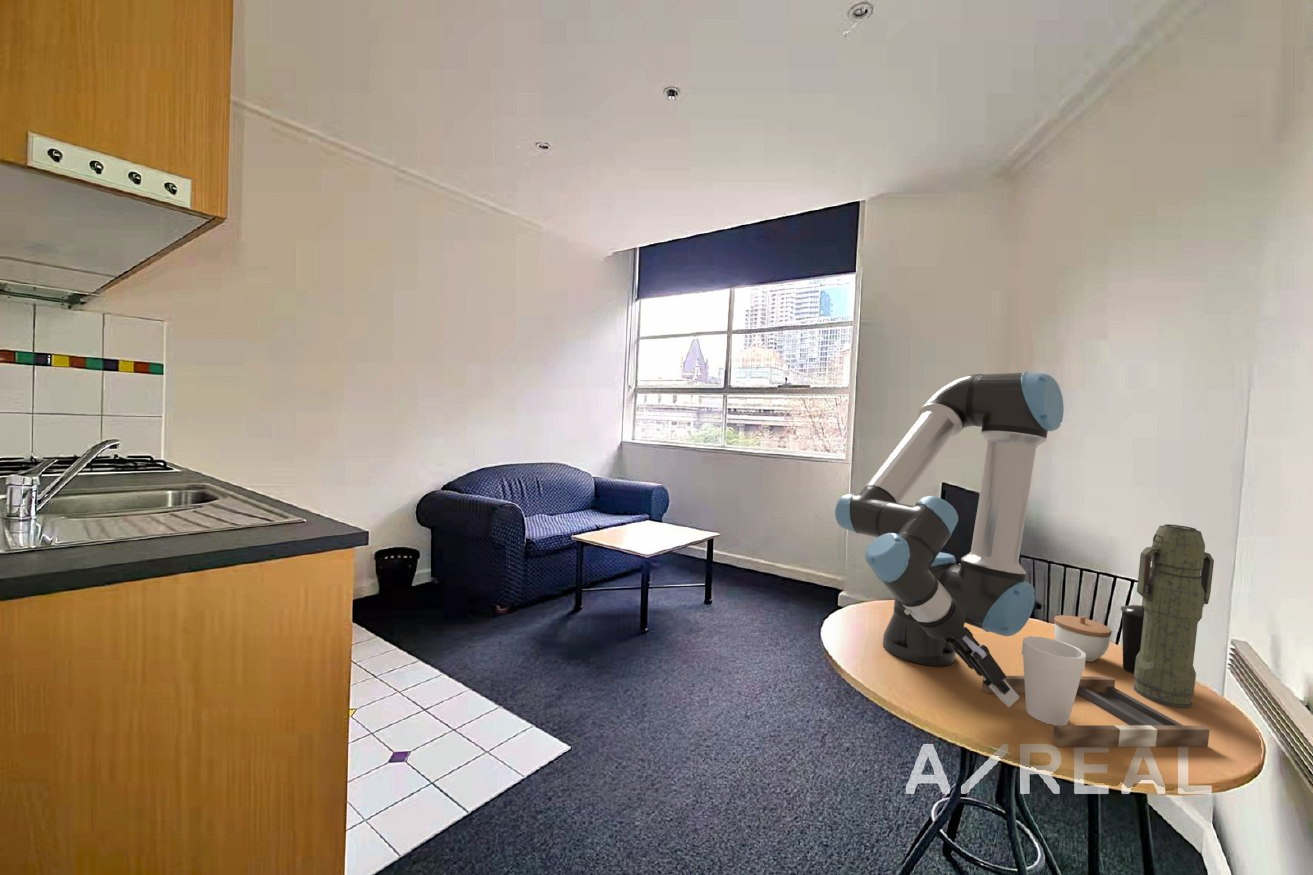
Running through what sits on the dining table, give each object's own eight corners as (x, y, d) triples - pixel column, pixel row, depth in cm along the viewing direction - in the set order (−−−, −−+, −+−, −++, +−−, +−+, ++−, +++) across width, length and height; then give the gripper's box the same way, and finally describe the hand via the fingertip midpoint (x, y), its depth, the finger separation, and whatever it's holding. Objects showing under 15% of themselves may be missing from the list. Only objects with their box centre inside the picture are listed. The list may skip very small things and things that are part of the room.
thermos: (1114, 682, 115) (1131, 520, 114) (1172, 688, 115) (1190, 524, 113) (1149, 705, 107) (1167, 529, 105) (1212, 711, 106) (1232, 533, 104)
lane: (1058, 747, 90) (1060, 729, 90) (981, 689, 109) (983, 675, 108) (1207, 746, 93) (1209, 729, 93) (1108, 691, 111) (1109, 676, 111)
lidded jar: (1087, 648, 134) (1091, 610, 133) (1120, 668, 123) (1124, 627, 122) (1041, 643, 135) (1045, 606, 134) (1069, 663, 124) (1073, 623, 123)
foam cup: (1060, 735, 94) (1068, 662, 93) (1005, 708, 102) (1012, 640, 101) (1089, 724, 98) (1096, 653, 98) (1034, 698, 106) (1040, 633, 106)
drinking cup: (1107, 666, 124) (1116, 579, 123) (1126, 661, 127) (1135, 577, 126) (1148, 682, 117) (1157, 590, 116) (1167, 677, 120) (1177, 588, 119)
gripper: (898, 609, 103) (972, 695, 105) (940, 638, 90) (1024, 735, 92) (926, 582, 103) (1000, 669, 106) (973, 607, 90) (1055, 705, 93)
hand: (1011, 700), depth 99 cm, fingers closed
